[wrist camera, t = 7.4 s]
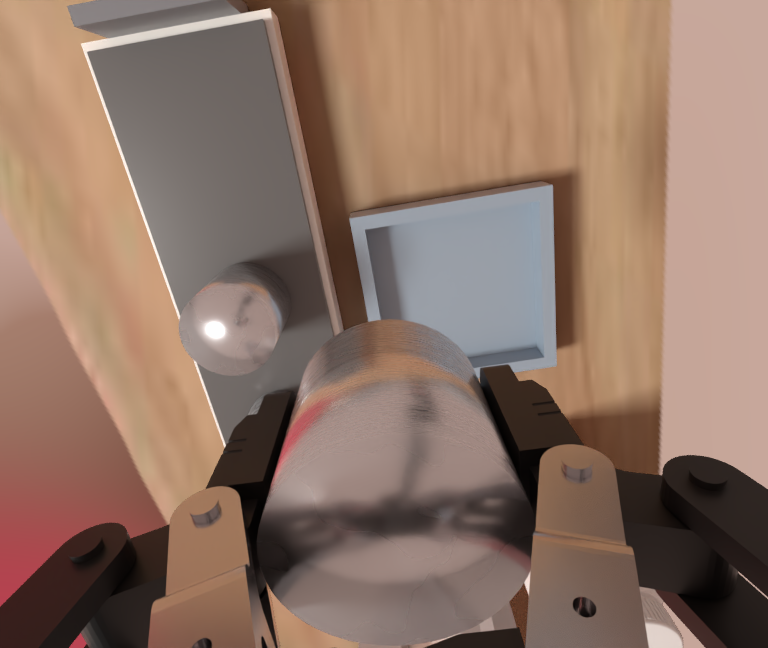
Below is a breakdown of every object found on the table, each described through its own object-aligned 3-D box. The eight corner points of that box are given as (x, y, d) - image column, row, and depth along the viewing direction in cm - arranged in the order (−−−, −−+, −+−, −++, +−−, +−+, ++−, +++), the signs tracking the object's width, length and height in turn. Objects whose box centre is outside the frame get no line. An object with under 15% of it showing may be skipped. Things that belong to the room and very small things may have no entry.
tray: (350, 212, 30) (349, 218, 28) (540, 181, 29) (552, 184, 27) (381, 376, 34) (381, 392, 32) (545, 352, 34) (556, 366, 32)
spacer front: (281, 332, 12) (223, 457, 8) (474, 307, 12) (536, 418, 7) (317, 484, 14) (289, 658, 9) (483, 464, 14) (538, 630, 9)
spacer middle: (199, 269, 28) (165, 297, 24) (280, 256, 28) (261, 281, 24) (223, 343, 30) (196, 382, 26) (298, 331, 30) (285, 368, 25)
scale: (92, 23, 26) (30, 0, 21) (271, -11, 25) (248, -42, 21) (240, 454, 37) (221, 501, 32) (366, 436, 36) (365, 481, 32)
